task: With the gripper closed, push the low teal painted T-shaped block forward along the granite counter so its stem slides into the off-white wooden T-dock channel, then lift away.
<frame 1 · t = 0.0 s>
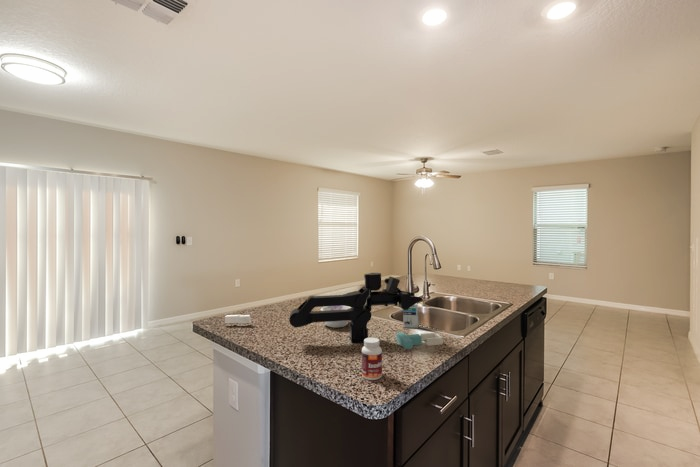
hand: (417, 296, 132), 17 cm above the countertop, tool horizontal, fingers open, 9 cm apart
paper bowls: (336, 325, 150), on the countertop
t block: (410, 343, 124), on the countertop
t dock: (431, 342, 125), on the countertop
pill bottle: (372, 376, 97), on the countertop
light bulb box: (410, 325, 149), on the countertop
napkin holder: (238, 327, 151), on the countertop
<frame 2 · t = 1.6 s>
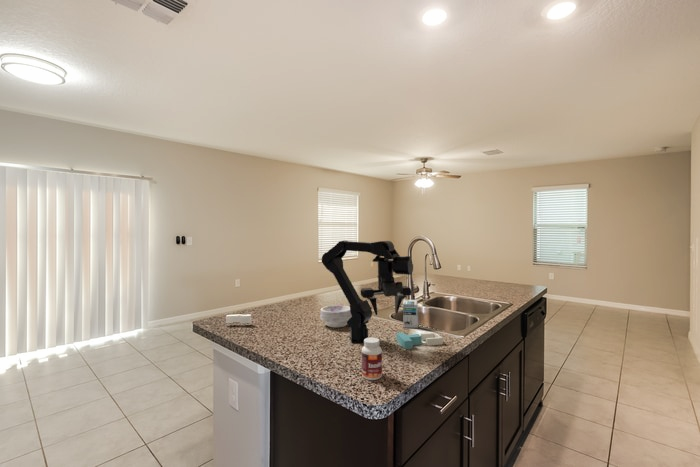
hand: (386, 314, 122), 12 cm above the countertop, tool pointing down, fingers open, 8 cm apart
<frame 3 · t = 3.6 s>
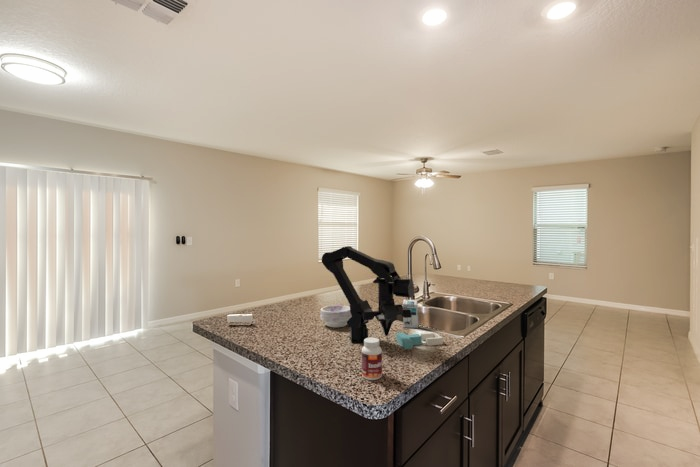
hand: (386, 335, 122), 4 cm above the countertop, tool pointing down, fingers closed
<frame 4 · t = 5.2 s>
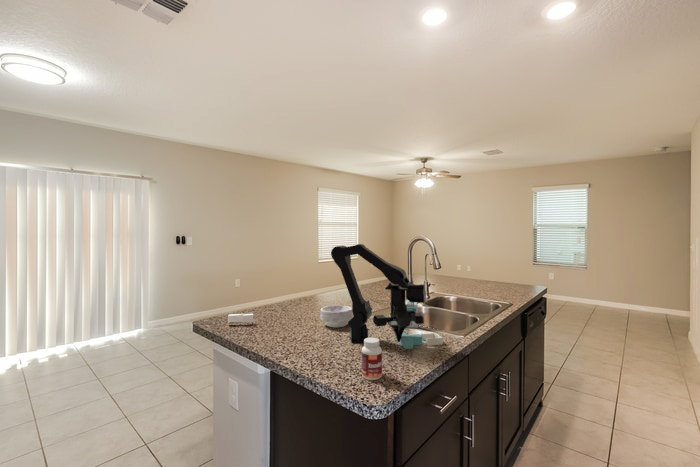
hand: (398, 341, 123), 1 cm above the countertop, tool pointing down, fingers closed
t block: (411, 343, 124), on the countertop, touching gripper
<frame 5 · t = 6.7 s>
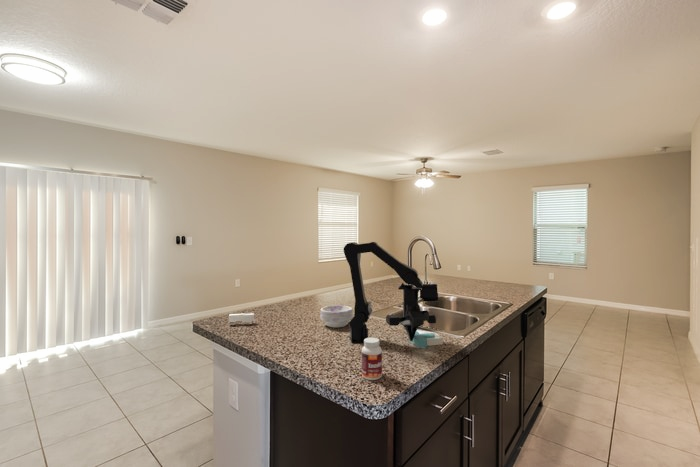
hand: (411, 340, 124), 1 cm above the countertop, tool pointing down, fingers closed
t block: (423, 342, 125), on the countertop, touching gripper
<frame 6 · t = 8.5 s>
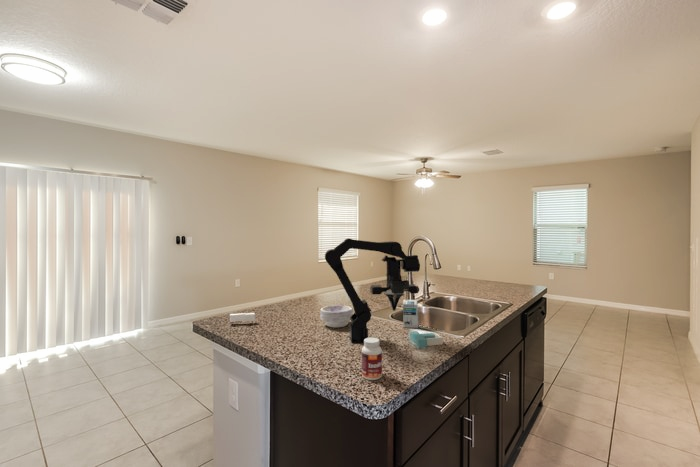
hand: (393, 310, 130), 11 cm above the countertop, tool pointing down, fingers closed
t block: (424, 342, 125), on the countertop
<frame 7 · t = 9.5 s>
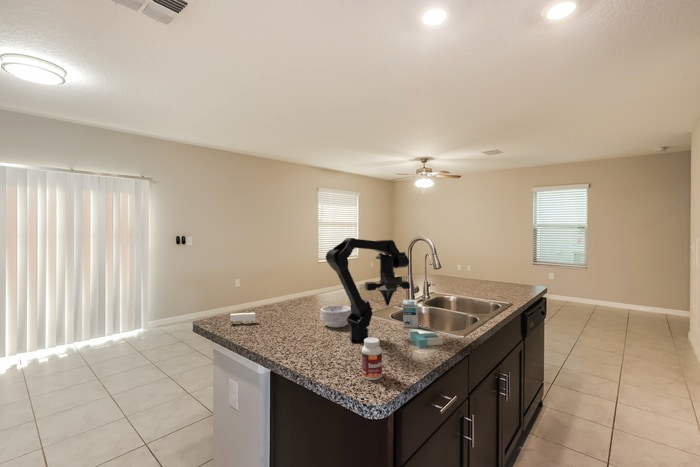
hand: (387, 305, 137), 12 cm above the countertop, tool pointing down, fingers closed
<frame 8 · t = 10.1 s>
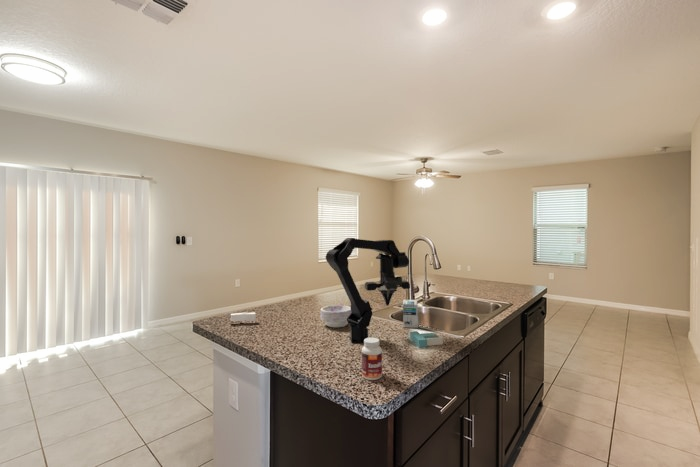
hand: (387, 305, 137), 12 cm above the countertop, tool pointing down, fingers closed
at the end: t block 0.3 cm from the target spot on the t dock, point 0.0 cm above the t dock's base; t block tilted 1°; t block moved 5.7 cm from its start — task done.
